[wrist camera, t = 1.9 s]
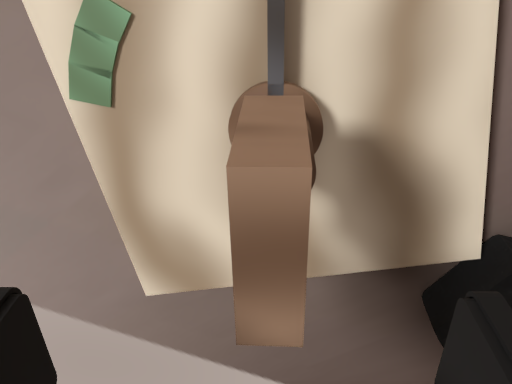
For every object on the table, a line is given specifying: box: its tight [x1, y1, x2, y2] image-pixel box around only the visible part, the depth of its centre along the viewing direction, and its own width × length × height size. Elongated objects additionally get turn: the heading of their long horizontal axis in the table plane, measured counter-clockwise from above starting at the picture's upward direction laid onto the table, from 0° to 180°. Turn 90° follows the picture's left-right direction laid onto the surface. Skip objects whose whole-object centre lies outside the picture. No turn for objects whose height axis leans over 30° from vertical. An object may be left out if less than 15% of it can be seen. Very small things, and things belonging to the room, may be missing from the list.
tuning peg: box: [226, 0, 323, 347], centre depth 15 cm, size 12×4×11 cm, turn 2°
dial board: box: [22, 0, 499, 296], centre depth 22 cm, size 20×20×2 cm
